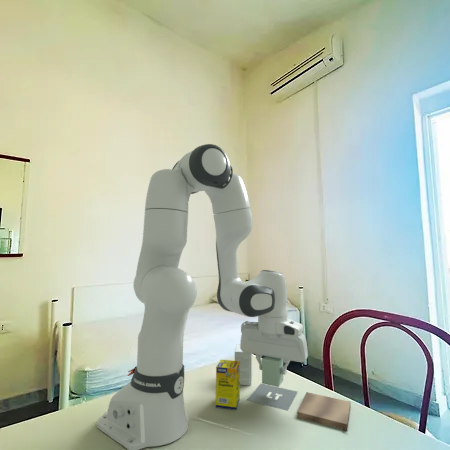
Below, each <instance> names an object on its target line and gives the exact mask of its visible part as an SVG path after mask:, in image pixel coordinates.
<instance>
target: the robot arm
mask: <svg viewBox="0 0 450 450" xmlns="http://www.w3.org/2000/svg"><path fill="white" fill-rule="evenodd" d="M199 192H204V193H205V194H206V195H207V196H208V198H209V200H210V203H211V207H212V209H211V210H212V214H213V219H214V226H215V227H214V229H215V252H216V260H217V261H216V262H217V271H218V284H217V285H218V287H217V292H216V297H217V298H216V299H217V302H218V305H219V306H220V307H221V308H222V309H223V310H225V311H227V312H230V313H231V312H232V313H234V314H235V313H236V314H238V315H241V316H244V317H249V318H256V317H257V321H249V320H245V321H244V322H242V323H241V325H240V333H241V335H240V343H239V344H240V349H241V350H242V352H246V353H251V354H252V355H255V360H257V361H256V362H257V363H258V365H259V371H262V358H263V357H264V356H268V357H274V358H280V359H283V366H281V368H280V374H283V376H286V375H287V370H288V369H287V367H288V366H289V364H290V362H298V363H304V362H306V361H307V359H308V357H309V352H308V342H307V338H306V336H305V334H304V333H303V332H304V325H303V324H302V323H300V322H298V321H295V320H294V319H291V318H289V317H288V311H287V303H288V287H287V286H288V285H287V281H286V277H285V275H284V274H283V273H282V272H280V271H276V270H269V269H261V270H260V272H259V273H258V274H257V275H256V276H255V277H253V278H251V279H249V280H247V281H243V280H242V279H241V278H240V276H239V267H238V257H237V252H238V248H239V246H240V244H241V243H242V242H243V241H244V240H246V239H247V238H248V237H249V235H250V234H251V232H252V230H253V223H254V221H253V212H252V208H251V201H250V199H249V195H248V191H247V189H246V186H245V184H244V181H243V179H242V177H241V176H240V175H238V174H237V173H233V167H232V165H231V163H230V159H229V158H228V156H227V154H226V152H225V151H224V150H223V149H222V148H221V146H218V145H216V144H211V143H210V144H209V143H206V144H202V145H199V146H197V147H195V148H194V150H191V151H189V152H187V153H186V154H184V155H183V156H182V157H181V158H180V159H179V160H178V161H177V162H176V163H175V164H174V166H173V167H172V168H171V169H170V168H168V169H167V168H163V169H159V170H157V171H155V172H154V173H153V174H152V176H151V177H150V180H149V183H148V188H147V193H146V199H145V206H144V218H143V219H144V220H143V231H142V232H143V233H142V242H141V248H140V252H139V257H138V262H137V266H136V272H135V277H134V279H133V291H134V294H135V296H136V298H137V299H138V300H139V301H140V303H143V305H144V313H143V318H142V323H141V328H140V331H139V333H138V335H137V356H136V357H137V358H136V366H135V367H134V368H132V369H130V370H128V371H127V372H128V374H127V376H128V377H130V376H131V375H132V377H131V380H130V381H129V382H128V383H127V384H125V385H124V386H123V387H122V388H121V389H119V390H118V391H116V393H115V394H113V396H112V397H111V398H110V401H109V403H108V408H107V411H106V412H105V413H103V415H101V416H100V418H99V419H98V420H97V421H96V428H98V429H99V430H100V431H101V432H103V433H105V434H106V435H107V436H108V437H110V438H112V439H113V440H114V441H116V442H117V443H119V444H120V445H121V446H123V447H124V448H126V450H142V449H144V448H151V447H158V446H163V445H169V444H171V443H173V442H176V441H177V440H178V439H180V438H181V437H183V436H184V435H185V433H186V432H187V431H188V428H189V420H188V418H187V412H186V408H185V407H186V406H185V400H184V386H185V365H184V363H183V361H184V336H185V328H186V324H187V321H188V316H189V312H190V309H191V308H192V307H193V305H194V304H195V302H196V299H197V295H198V288H197V284H196V282H195V280H194V279H193V277H192V276H191V275H189V273H188V272H186V271H184V270H183V269H181V268H179V265H180V261H181V257H182V253H183V251H184V248H185V247H186V245H187V241H188V240H187V239H188V223H189V201H190V197H191V195H193V194H196V193H199Z"/></svg>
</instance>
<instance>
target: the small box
mask: <svg viewBox="0 0 450 450" xmlns="http://www.w3.org/2000/svg"><path fill="white" fill-rule="evenodd" d="M234 361H240V386H252V380H253V354H251V353H246V352H242V350H241V349H240V343H237V344H236V347H235V349H234Z"/></svg>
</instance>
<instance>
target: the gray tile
mask: <svg viewBox="0 0 450 450" xmlns="http://www.w3.org/2000/svg"><path fill="white" fill-rule="evenodd" d="M298 392H299V391H296V390H292V389H287V388H283V387H280V386H279V387H276V386H272V385H267V384H263V383H259V385H258V386H257V387H256V388H255V390H254V391H253V392H252V393H251V394H250V395H249V397H248V398H247V399H246V401H250V402H251V403H257V404H260V405H264V406H268V407H272V408H277V409H279V410H283V411H284V410H285V411H289V409H290V407H291V406H292V404H293V402H294V400H295V398H296V397H297V394H298Z"/></svg>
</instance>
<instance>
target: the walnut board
mask: <svg viewBox="0 0 450 450" xmlns="http://www.w3.org/2000/svg"><path fill="white" fill-rule="evenodd" d="M351 404H352V403H351V401H349V400H345V399H339V398H335V397H331V396H330V397H329V396H326V395H322V394H316V393H312V392H306V393H305V395H304V397H303V399H302V400H301V403H300V405H299V407H298V409H297V412H296V417H297V418H299V419H303V420H307V421H311V422H315V423H317V424H322V425H327V426H330V427H333V428H338V429H341V430H343V431H348V429H349V421H350V413H351Z"/></svg>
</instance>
